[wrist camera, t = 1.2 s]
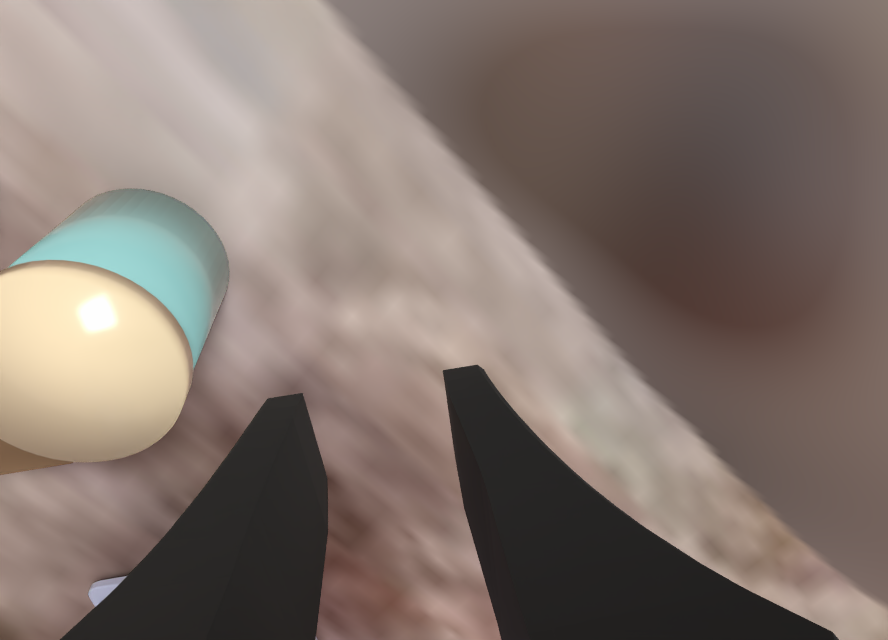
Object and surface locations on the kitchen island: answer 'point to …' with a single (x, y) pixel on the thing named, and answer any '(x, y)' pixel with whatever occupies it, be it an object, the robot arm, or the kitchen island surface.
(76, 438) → the jar
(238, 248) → the kitchen island surface
